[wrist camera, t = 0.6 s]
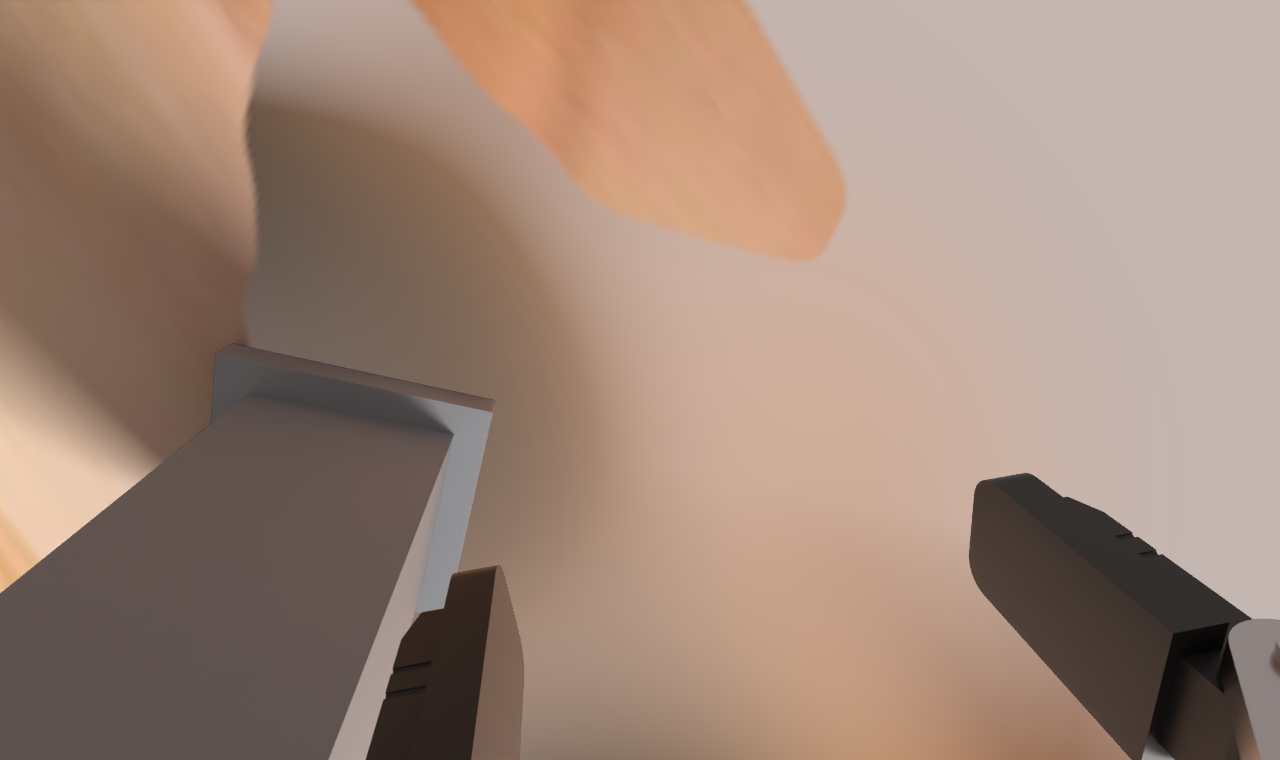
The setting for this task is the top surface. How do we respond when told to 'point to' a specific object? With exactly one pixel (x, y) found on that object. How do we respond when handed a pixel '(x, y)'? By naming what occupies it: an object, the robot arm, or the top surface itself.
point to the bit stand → (248, 575)
